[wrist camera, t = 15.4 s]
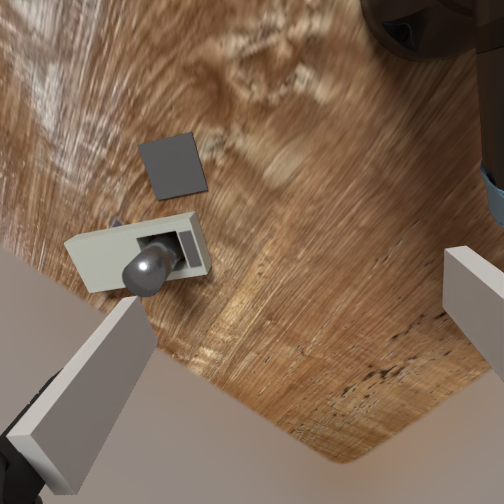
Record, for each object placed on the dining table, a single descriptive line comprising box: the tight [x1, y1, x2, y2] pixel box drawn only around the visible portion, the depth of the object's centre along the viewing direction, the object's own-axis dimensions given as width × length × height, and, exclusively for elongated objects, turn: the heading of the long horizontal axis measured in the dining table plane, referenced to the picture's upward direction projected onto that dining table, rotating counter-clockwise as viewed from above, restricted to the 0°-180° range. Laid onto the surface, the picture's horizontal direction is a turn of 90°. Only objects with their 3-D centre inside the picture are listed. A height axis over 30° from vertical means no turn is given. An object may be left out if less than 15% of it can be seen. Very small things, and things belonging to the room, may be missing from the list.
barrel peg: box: [122, 231, 184, 297], centre depth 38 cm, size 4×4×10 cm
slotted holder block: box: [64, 211, 212, 293], centre depth 42 cm, size 8×18×3 cm, turn 103°
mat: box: [137, 132, 208, 200], centre depth 38 cm, size 7×7×1 cm
